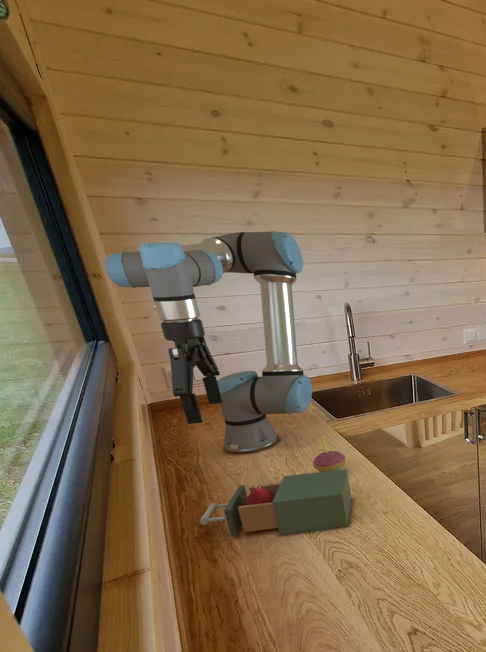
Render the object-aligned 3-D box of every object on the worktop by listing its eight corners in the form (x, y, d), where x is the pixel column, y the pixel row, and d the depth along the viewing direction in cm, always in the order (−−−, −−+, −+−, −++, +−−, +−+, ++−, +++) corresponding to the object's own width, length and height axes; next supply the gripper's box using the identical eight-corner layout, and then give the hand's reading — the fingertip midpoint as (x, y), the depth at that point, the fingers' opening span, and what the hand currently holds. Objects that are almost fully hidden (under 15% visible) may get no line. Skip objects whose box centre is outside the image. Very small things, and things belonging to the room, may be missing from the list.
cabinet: (279, 535, 110) (272, 502, 106) (290, 506, 121) (283, 476, 118) (347, 526, 112) (341, 493, 109) (351, 499, 124) (346, 469, 120)
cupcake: (310, 476, 136) (302, 437, 131) (338, 466, 141) (332, 428, 137) (325, 486, 130) (317, 445, 126) (354, 475, 136) (347, 435, 131)
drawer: (200, 540, 107) (191, 514, 104) (217, 513, 117) (209, 488, 114) (296, 528, 110) (290, 502, 108) (304, 503, 121) (299, 478, 118)
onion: (267, 523, 110) (259, 492, 107) (244, 521, 112) (236, 490, 108) (283, 510, 116) (276, 480, 113) (261, 507, 117) (254, 478, 114)
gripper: (183, 311, 115) (207, 397, 123) (132, 331, 93) (165, 434, 101) (218, 310, 117) (239, 394, 125) (176, 329, 94) (205, 430, 102)
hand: (206, 412), depth 113 cm, fingers open, 13 cm apart
